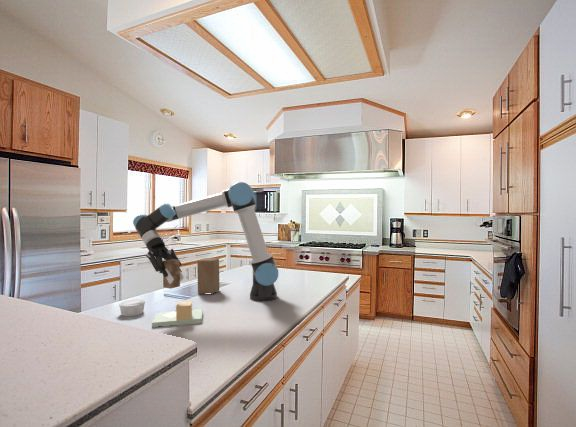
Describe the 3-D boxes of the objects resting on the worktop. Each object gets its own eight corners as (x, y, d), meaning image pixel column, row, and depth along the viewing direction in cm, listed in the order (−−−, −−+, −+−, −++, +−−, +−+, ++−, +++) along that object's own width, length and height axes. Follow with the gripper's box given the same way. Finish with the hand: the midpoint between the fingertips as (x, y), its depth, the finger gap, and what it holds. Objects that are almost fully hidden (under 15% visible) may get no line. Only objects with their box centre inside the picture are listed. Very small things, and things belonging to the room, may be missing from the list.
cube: (192, 314, 144) (191, 301, 144) (191, 319, 138) (190, 305, 138) (178, 316, 142) (177, 302, 142) (176, 320, 137) (176, 306, 137)
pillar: (172, 285, 148) (172, 259, 148) (179, 286, 145) (179, 259, 145) (163, 287, 144) (163, 260, 144) (170, 288, 141) (170, 261, 141)
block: (213, 295, 186) (212, 260, 186) (197, 294, 188) (196, 260, 188) (220, 290, 196) (219, 258, 195) (204, 290, 198) (204, 257, 197)
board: (202, 313, 152) (202, 308, 152) (201, 323, 139) (201, 318, 139) (157, 316, 148) (157, 312, 148) (152, 327, 134) (151, 322, 134)
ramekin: (132, 318, 147) (131, 306, 147) (113, 315, 150) (113, 304, 150) (150, 311, 157) (150, 300, 157) (132, 309, 161) (132, 298, 161)
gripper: (166, 245, 160) (189, 281, 151) (132, 249, 145) (155, 290, 136) (173, 235, 157) (196, 271, 149) (139, 238, 142) (163, 278, 133)
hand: (177, 280), depth 142 cm, fingers closed on pillar, 5 cm apart
